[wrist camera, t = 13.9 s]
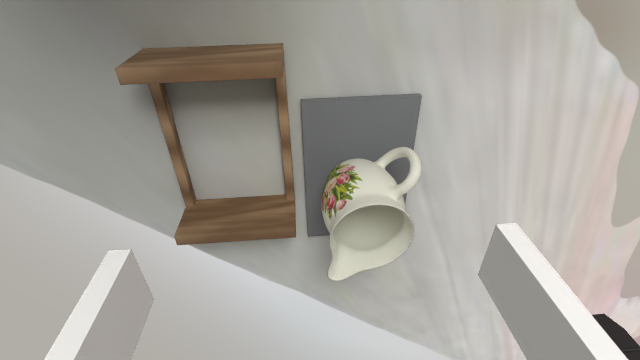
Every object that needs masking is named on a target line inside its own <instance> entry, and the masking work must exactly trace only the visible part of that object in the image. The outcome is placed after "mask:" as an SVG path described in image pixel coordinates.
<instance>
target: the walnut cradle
mask: <svg viewBox="0 0 640 360" xmlns="http://www.w3.org/2000/svg"><path fill="white" fill-rule="evenodd" d="M115 70H116V73H117V76H118V79H119V82H120V85H126V84H149V88H150V91H151V94H152V97H153V101H154V104H155V107H156V110H157V114H158V117H159V120H160V123H161V127H162V130H163V133H164V136H165V140H166V143H167V146H168V149H169V153H170V156H171V159H172V163H173V166H174V169H175V172H176V176H177V179H178V182H179V185H180V189H181V192H182V195H183V198H184V202H185V205H186V208H185V211H184V213H183V216H182V218H181V221H180V223H179V226H178V228H177V231H176V234H175V236H174V237H175V240H176V243H177V245H187V244H202V243H216V242H231V241H246V240H261V239H276V238H291V237H296V220H295V195H294V182H293V169H292V156H291V143H290V130H289V117H288V104H287V91H286V78H285V65H284V52H283V43H279V44H253V45H227V46H201V47H174V48H148V49H142V50H141V51H139V52H138V53H136V54H135V55H134V56H132V57H131V58H129V59H128V60H127V61H125V62H124V63H122V64H121V65H120V66H118V67H117V68H115ZM265 78H275V80H276V91H277V102H278V112H279V123H280V134H281V144H282V155H283V166H284V177H285V187H286V195H272V196H256V197H239V198H223V199H207V200H196V197H195V194H194V190H193V187H192V183H191V180H190V176H189V172H188V169H187V165H186V162H185V158H184V155H183V151H182V148H181V144H180V140H179V137H178V133H177V130H176V126H175V123H174V119H173V116H172V112H171V108H170V105H169V101H168V98H167V94H166V91H165V87H164V84H163V83H172V82H195V81H219V80H242V79H265Z"/></svg>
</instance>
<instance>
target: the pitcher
mask: <svg viewBox="0 0 640 360" xmlns="http://www.w3.org/2000/svg"><path fill="white" fill-rule="evenodd" d="M401 157H407V158H408V160H409V162H410V171H409V174H408V176H407V177H406V179H405V180H404V181H403V182H402V183H400V184H399V185H398V184H397V183H396V181H395V180H394V178H393V177H392V176H391V175H390V174H389V173H388V172H387V171H386V170H385V167H386V166H387V165H388V164H389V163H391V162H392V161H394V160H396V159H398V158H401ZM420 175H421V162H420V159H419V157H418V155H417V154H416V153H415V152H414V151H413V150H411V149H410V148H408V147H399V148H395V149H393V150H391V151H389V152H387V153H386V154H384V155H383V156H382V157H381V158H379V159H378V160H377V161H375V162H372V161H370V160H366V159H361V158H356V159H350V160H347V161H344V162H342V163H340V164H339V165H337V166H336V167H335V168H334V169H333V170H332V171H331V173H330V174H329V176H328V178H327V180H326V182H325V185H324V188H323V192H322V201H321V206H322V215H323V219H324V222H325V225H326V227H327V229H328V231H329V233H330V249H331V253H332V260H331V263H330V265H329V268H328V274H327V276H328V278H329V279H330V280H332V281H340V280H343V279H346V278H348V277H351V276H352V275H354V274H356V273H358V272H361V271H365V270H370V269H375V268H378V267H381V266H384V265H386V264H388V263H390V262H392V261H394V260H395V259H397V258H398V257H399V256H401V255H402V254H403V253H404V252H405V251H406V250H407V248H408V247H409V246H410V244H411V242H412V240H413V237H414V224H413V222H412V219H411V218H410V216H409V215H408V214H407V213H406V211H405V203H404V199H403V194H405V193H407V192H409V191H410V190H411V189H412V188H413V187H414V186H415V185H416V184H417V182H418V180H419V178H420Z"/></svg>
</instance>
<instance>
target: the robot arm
mask: <svg viewBox="0 0 640 360" xmlns="http://www.w3.org/2000/svg"><path fill="white" fill-rule="evenodd" d="M478 275H479V277H480V279H481V280H482V282H483V284H484V286H485V287H486V289H487V291H488V293H489V294H490V296H491V298H492V300H493V301H494V303H495V305H496V306H497V308H498V310H499V312H500V313H501V315H502V317H503V319H504V320H505V322H506V324H507V326H508V327H509V329H510V331H511V332H512V334H513V336H514V338H515V339H516V341H517V343H518V345H519V346H520V348H521V350H522V352H523V353H524V355H525V357H526V359H527V360H640V346H639V345H638V344H637V343H636V342H635V341H634V339H633V338H632V337H631V336H630V335H629V334H628V333H627V331H626V330H625V329H624V328H622V327H621V326H620V325H618V324H617V323H616V322H614V321H613V320H612V319H610V318H609V317H608V316H606V315H605V314H596V315H591V314H590V313H589V311H588V310H587V309H586V308H585V306H584V305H583V304H582V303H581V302H580V300H579V299H578V298H577V297H576V295H575V294H574V293H573V292H572V291H571V289H570V288H569V287H568V286H567V284H566V283H565V282H564V281H563V280H562V278H561V277H560V276H559V275H558V273H557V272H556V271H555V270H554V269H553V267H552V266H551V265H550V264H549V263H548V261H547V260H546V259H545V258H544V256H543V255H542V254H541V253H540V252H539V250H538V249H537V248H536V247H535V245H534V244H533V243H532V242H531V241H530V239H529V238H528V237H527V236H526V234H525V233H524V232H523V231H522V230H521V228H520V227H519V226H518V225H517V224H516V223H511V224H496V226H495V229H494V232H493V234H492V237H491V240H490V243H489V246H488V248H487V251H486V254H485V257H484V260H483V262H482V265H481V268H480V271H479V273H478ZM153 300H154V298H153V296H152V293H151V291H150V289H149V287H148V285H147V283H146V280H145V278H144V276H143V274H142V272H141V270H140V268H139V265H138V263H137V261H136V259H135V257H134V254H133V253H132V250H131V249H126V250H111V251H108V252H107V254H106V256H105V258H104V259H103V261H102V262H101V264H100V266H99V268H98V269H97V271H96V273H95V274H94V276H93V278H92V279H91V281H90V283H89V285H88V286H87V288H86V290H85V291H84V293H83V295H82V297H81V298H80V300H79V301H78V303H77V305H76V307H75V308H74V310H73V312H72V313H71V315H70V317H69V318H68V320H67V322H66V324H65V325H64V327H63V329H62V330H61V332H60V334H59V336H58V337H57V339H56V341H55V342H54V344H53V346H52V348H51V349H50V351H49V352H48V354H47V356H46V358H45V359H44V360H131V358H132V356H133V353H134V350H135V348H136V345H137V342H138V340H139V337H140V335H141V332H142V329H143V327H144V324H145V322H146V319H147V316H148V313H149V311H150V308H151V306H152V303H153Z"/></svg>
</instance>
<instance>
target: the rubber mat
mask: <svg viewBox="0 0 640 360" xmlns="http://www.w3.org/2000/svg"><path fill="white" fill-rule="evenodd" d="M421 97H422V96H421V95H420V94H403V95H381V96H360V97H338V98H317V99H301V111H302V130H303V149H304V168H305V187H306V206H307V225H308V236H323V235H330V233H329V231H328V229H327V227H326V225H325V222H324V219H323V215H322V206H321V201H322V192H323V188H324V185H325V182H326V180H327V178H328V176H329V174H330V173H331V171H332V170H333V169H334V168H335V167H336V166H337V165H339V164H340V163H342V162H344V161H347V160H350V159H356V158H361V159H366V160H370V161H372V162H375V161H377V160H378V159H379V158H381V157H382V156H383V155H384V154H386V153H387V152H389V151H391V150H393V149H395V148H399V147H408V148H410V149H411V150H413V149H414V143H415V136H416V130H417V123H418V117H419V110H420V104H421ZM385 170H386V171H387V172H388V173H389V174H390V175H391V176H392V177H393V178H394V180H395V181H396V183H397V184H398V185H399V184H400V183H402V182H403V181H404V180H405V179H406V177H407V176H408V174H409V171H410V162H409V160H408V158H407V157H401V158H398V159H396V160H394V161H392V162H391V163H389V164H388V165H387V166H386V167H385ZM406 195H407V193H405V194H403V199H404V203H405V201H406Z"/></svg>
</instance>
